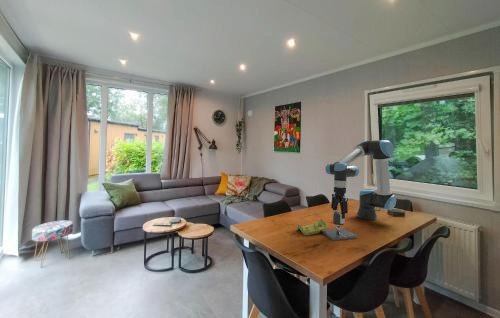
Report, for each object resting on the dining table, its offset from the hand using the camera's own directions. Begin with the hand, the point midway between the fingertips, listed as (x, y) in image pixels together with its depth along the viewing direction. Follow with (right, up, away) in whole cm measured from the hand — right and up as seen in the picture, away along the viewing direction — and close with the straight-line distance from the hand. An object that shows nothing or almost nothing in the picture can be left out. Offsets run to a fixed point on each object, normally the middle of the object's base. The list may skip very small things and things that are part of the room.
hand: (338, 221), depth 150 cm
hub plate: (0, -9, +1) cm, 9 cm away
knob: (0, -1, 0) cm, 1 cm away
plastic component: (-16, -9, +6) cm, 19 cm away
